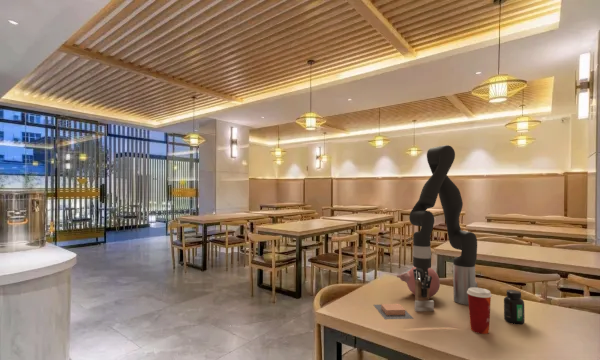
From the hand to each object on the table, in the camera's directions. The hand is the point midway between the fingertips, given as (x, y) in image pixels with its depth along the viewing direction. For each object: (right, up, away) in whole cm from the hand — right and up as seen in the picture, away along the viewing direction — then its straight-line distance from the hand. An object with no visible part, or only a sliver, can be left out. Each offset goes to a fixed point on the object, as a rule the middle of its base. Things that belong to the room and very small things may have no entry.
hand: (422, 295), depth 139 cm
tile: (-14, -5, 0) cm, 15 cm away
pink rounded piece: (+5, -7, +18) cm, 20 cm away
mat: (-14, -6, -3) cm, 16 cm away
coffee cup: (+14, -6, -19) cm, 25 cm away
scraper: (0, -7, 0) cm, 7 cm away
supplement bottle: (+33, -7, -11) cm, 35 cm away
